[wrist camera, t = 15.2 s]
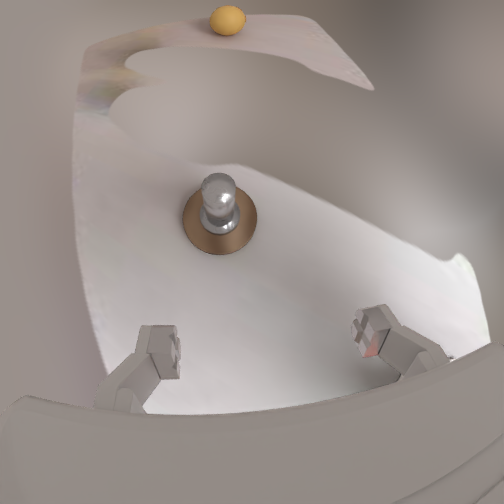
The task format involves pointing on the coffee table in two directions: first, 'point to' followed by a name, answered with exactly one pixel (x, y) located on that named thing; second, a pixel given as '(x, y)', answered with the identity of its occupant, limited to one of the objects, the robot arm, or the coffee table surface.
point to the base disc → (220, 242)
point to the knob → (219, 204)
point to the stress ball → (227, 20)
